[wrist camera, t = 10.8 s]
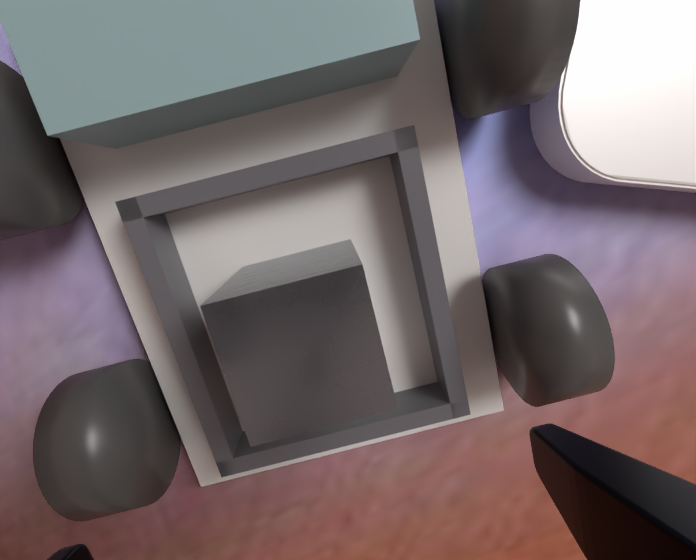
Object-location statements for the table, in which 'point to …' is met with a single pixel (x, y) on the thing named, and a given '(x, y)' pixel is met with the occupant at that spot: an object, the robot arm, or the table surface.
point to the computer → (625, 98)
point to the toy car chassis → (280, 212)
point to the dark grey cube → (300, 343)
